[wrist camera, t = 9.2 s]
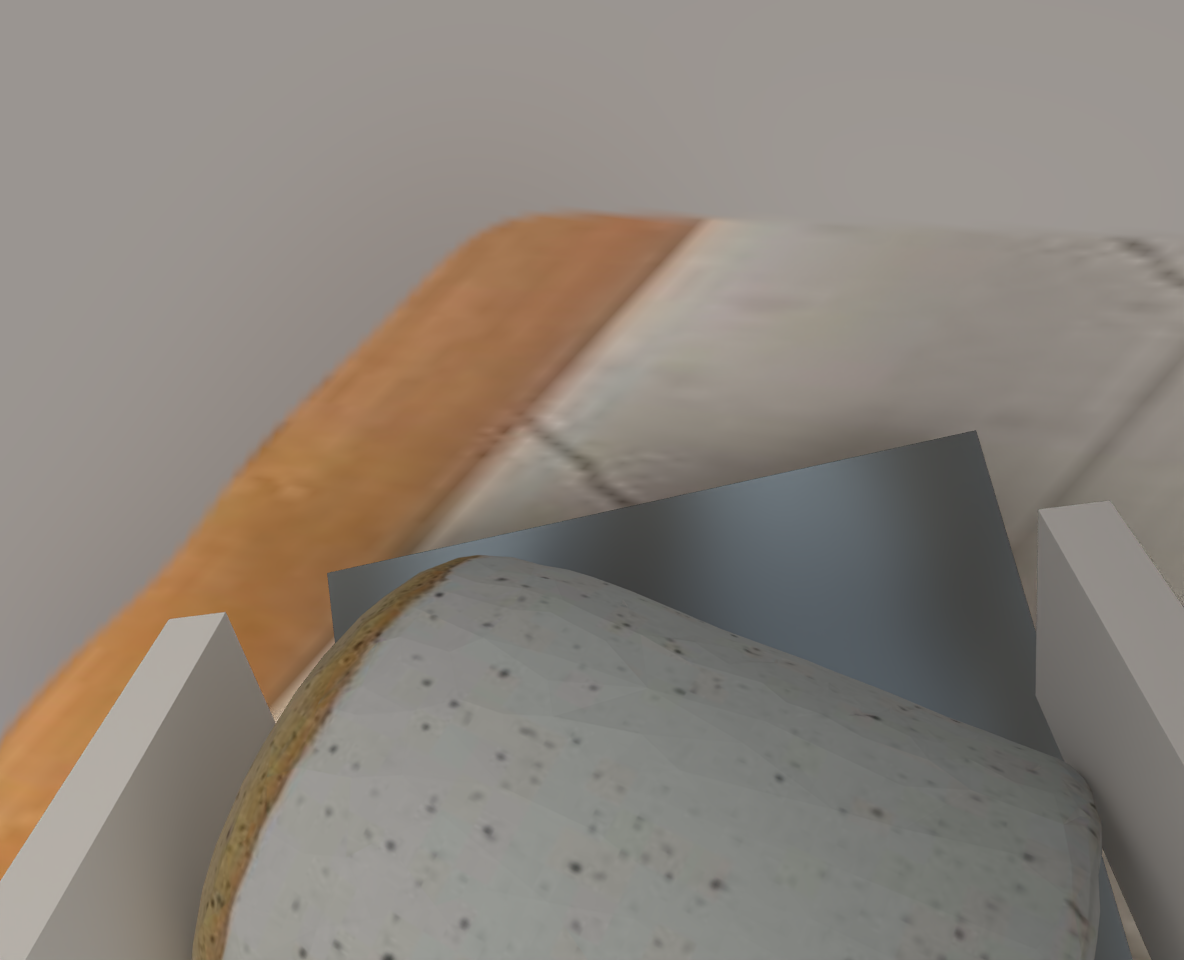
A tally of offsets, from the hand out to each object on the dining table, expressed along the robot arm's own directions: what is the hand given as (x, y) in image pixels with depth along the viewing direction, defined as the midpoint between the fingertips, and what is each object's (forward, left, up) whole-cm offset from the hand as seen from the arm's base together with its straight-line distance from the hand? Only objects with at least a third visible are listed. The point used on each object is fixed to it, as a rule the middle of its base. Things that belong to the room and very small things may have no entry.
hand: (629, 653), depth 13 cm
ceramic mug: (+1, +4, -4) cm, 6 cm away
